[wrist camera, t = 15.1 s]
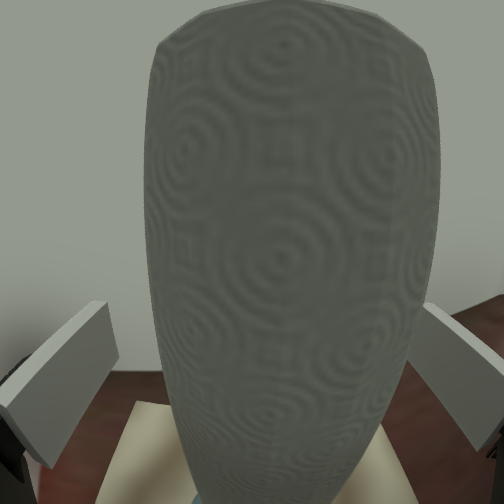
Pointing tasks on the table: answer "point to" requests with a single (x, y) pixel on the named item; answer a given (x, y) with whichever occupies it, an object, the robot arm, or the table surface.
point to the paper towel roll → (287, 238)
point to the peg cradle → (181, 483)
